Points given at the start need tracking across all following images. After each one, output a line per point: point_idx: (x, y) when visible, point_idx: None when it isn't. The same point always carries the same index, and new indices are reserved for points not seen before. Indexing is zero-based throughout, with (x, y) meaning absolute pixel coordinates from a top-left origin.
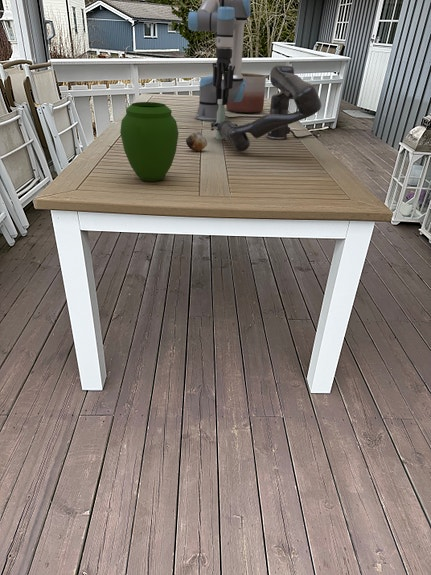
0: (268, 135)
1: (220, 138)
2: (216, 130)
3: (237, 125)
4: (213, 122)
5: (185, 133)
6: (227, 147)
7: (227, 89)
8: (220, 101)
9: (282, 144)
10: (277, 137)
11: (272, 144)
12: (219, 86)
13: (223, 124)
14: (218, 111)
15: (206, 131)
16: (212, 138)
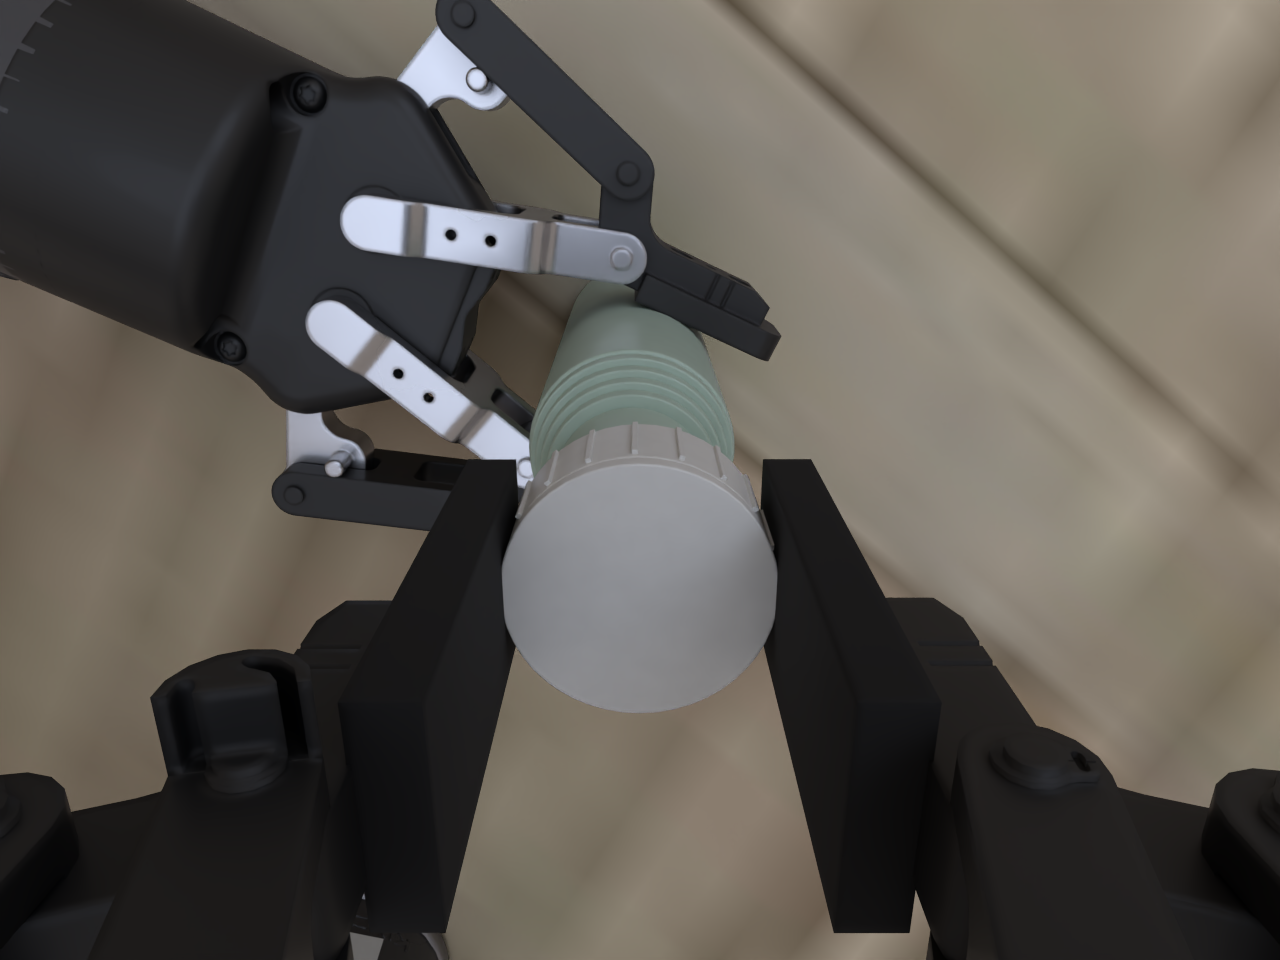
0: None
1: (578, 297)
2: None
3: (275, 494)
4: (758, 305)
5: (1234, 46)
6: None
7: (150, 810)
8: (567, 468)
9: None
10: None
11: (62, 714)
12: (948, 934)
13: (54, 16)
14: (623, 367)
15: (1110, 460)
16: (699, 230)
